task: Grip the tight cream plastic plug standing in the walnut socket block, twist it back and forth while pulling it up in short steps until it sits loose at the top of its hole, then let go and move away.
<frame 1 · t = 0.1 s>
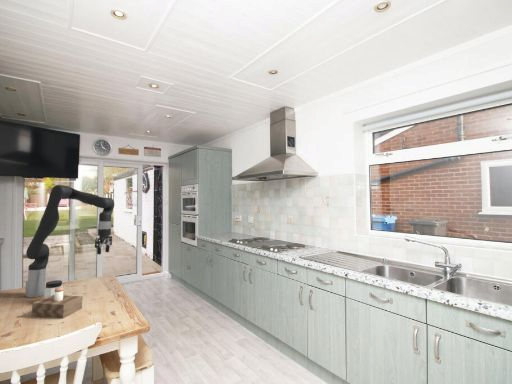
hand: (103, 253, 177), 29 cm above the table, tool pointing down, fingers open, 8 cm apart
socket block: (57, 312, 153), on the table
plug: (58, 300, 153), point 7 cm above the table, slide at 0.0 cm
jar: (52, 302, 169), on the table
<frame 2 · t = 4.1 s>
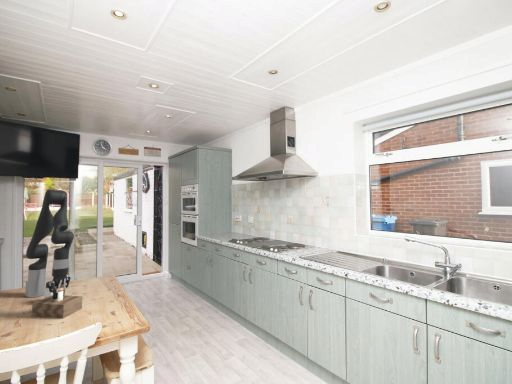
hand: (58, 297, 153), 8 cm above the table, tool pointing down, fingers closed on plug, 4 cm apart
plug: (58, 300, 153), point 7 cm above the table, slide at 0.0 cm, touching gripper
everything else where it was.
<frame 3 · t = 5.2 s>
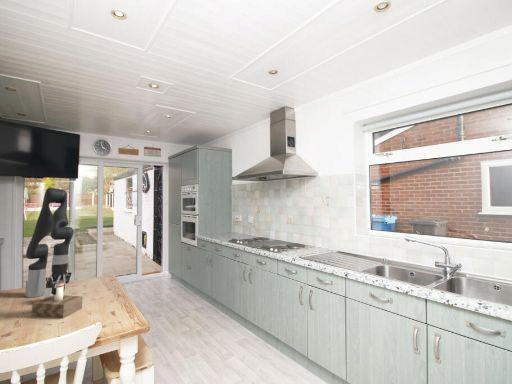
hand: (57, 293, 153), 11 cm above the table, tool pointing down, fingers closed on plug, 4 cm apart
plug: (58, 295, 153), point 9 cm above the table, slide at 2.5 cm, touching gripper
everything else where it was.
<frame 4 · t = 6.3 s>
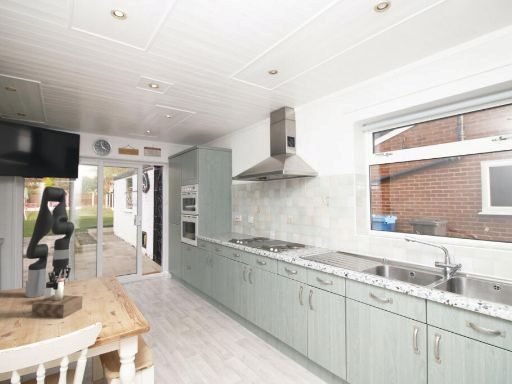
hand: (58, 288, 153), 13 cm above the table, tool pointing down, fingers closed on plug, 4 cm apart
plug: (59, 290, 153), point 12 cm above the table, slide at 5.2 cm, touching gripper
everything else where it was.
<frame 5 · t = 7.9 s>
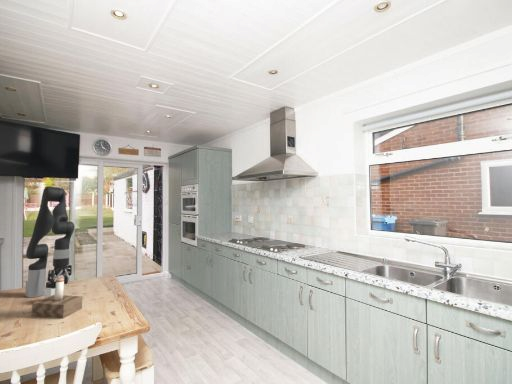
hand: (59, 286, 153), 14 cm above the table, tool pointing down, fingers open, 8 cm apart
plug: (59, 290, 153), point 12 cm above the table, slide at 5.3 cm
everything else where it was.
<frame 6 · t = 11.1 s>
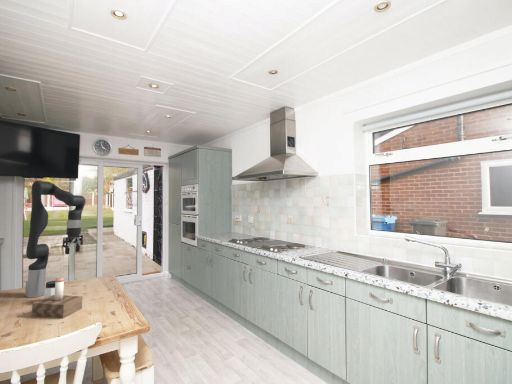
hand: (72, 252, 171), 30 cm above the table, tool pointing down, fingers open, 8 cm apart
nothing on the table moved.
at the end: plug slide at 5.3 cm; the gripper is holding nothing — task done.
